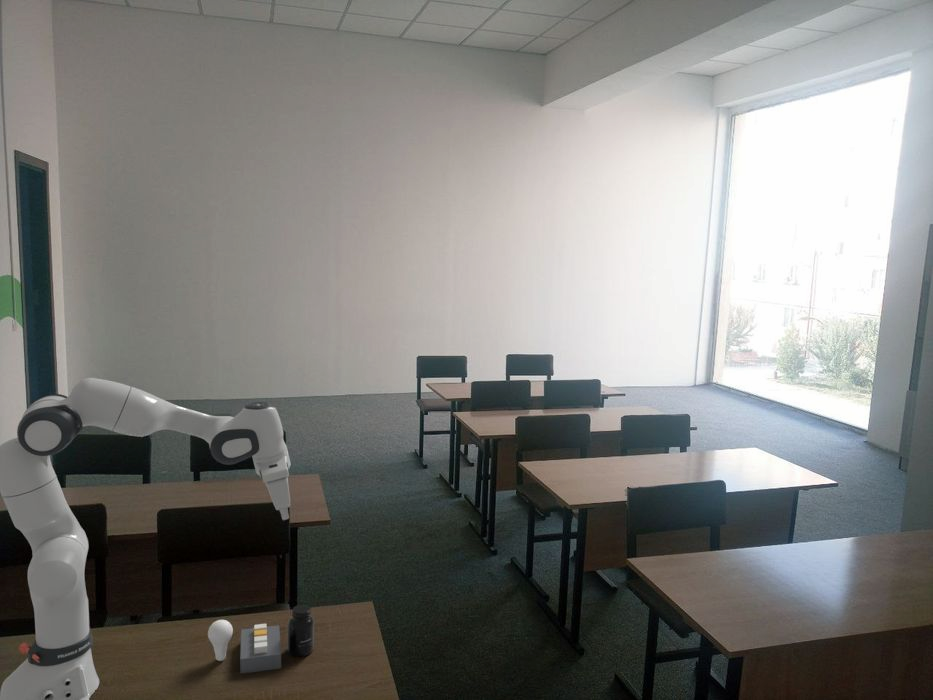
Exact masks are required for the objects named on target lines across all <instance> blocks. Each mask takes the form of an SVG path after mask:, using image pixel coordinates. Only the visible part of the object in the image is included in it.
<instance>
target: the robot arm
mask: <svg viewBox="0 0 933 700" xmlns="http://www.w3.org/2000/svg"><path fill="white" fill-rule="evenodd" d="M87 426H89V427H91V426H92V427H96V428H97V427H98V428H101V429H105V430H108V431H112V432H115V433H118V434H120V435H126V436H130V437H131V436H132V437H141V438H143V437H146V436H149V435H151V434H153V433H155V432H159V431H163V430H165V431H167V430H169V431H174V432H178V433H183V434H186V435H190V436H193V437H197V438H200V439H203V440H204V441H205V442H206V443H207V444H208V445H209V450H210V454H211V456H212V458H213V459H214V460H216V462H218V463H220V464H222V465H227V466H228V465H235V464H237V463H240V462H243V461H245V460H248V459H249V458H251V457H252V461H253V465H254V466H253V467H254V469H255V474H256V475H258V476H259V478H260V479H261V480H262V483H263V484H264V483H265V486H266V488H267V490H268V493H269V495H270V499H271V501H272V504H273V506H274V508H275V510H276V511H279V513H280V516H281V519H282V521H286V520H289V518H290V515H289V514H290V513H289V508H290V507H291V496H290V495H291V493H290V486H289V476H290V468H291V465H292V464H291V459H290V455H289V451H288V447H287V444H286V442H285V441H284V429H283V425H282V421H281V418H280V416H279V412H278V410H277V408H276V407H275V405H273V404H271V403H270V402H263V401H262V402H261V401H260V402H259V401H257V402H252V403H248V404H246V405H244V406H243V408H242V409H241V410H240V411H239V412H238V413H237V414H233V413H216V414H215V413H214V414H213V413H206V412H203V411H201V410H200V411H199V410H196V409H193V408H190V407H189V408H188V407H186V406H181V405H179V404H174V403H172V402H170V401H167V400H165V399H163V398H160V397H158V396H156V395H154V394H152V393H150V392H147V391H145V390H142V389H140V388H137V387H134V386H130V385H127V384H125V383H121V382H117V381H113V380H112V381H111V380H108V379H103V378H97V377H86V378H83V379H82V380H80V381H79V382H78V383H76V385H74V387H73V388H72V389H71V392H70V394H69V395H68V396H67V395H65V394H60V393H50V394H45V395H43V396H40V397H39V398H37V399H36V400H34V401H33V402H32V403H31V405H29V406H28V407H27V409H26V410H25V412H24V413H23V415H22V417H21V420H20V421H19V423H18V425H17V429H16V430H17V431H16V433H17V434H16V435H17V437H15V438H12V439H10V440H7V441H5V442H3V443H2V444H0V495H1V498H2V500H3V502H4V505H5V507H6V509H7V511H8V513H9V516H10V519H11V522H12V523H13V525H14V527H15V529H17V530H19V531H20V532H21V533H22V534H23V535H22V536H24V538H25V539H26V540H27V542H28V544H29V545H30V547H31V551H32V553H31V554H32V558H31V560H30V562H29V565H28V569H27V584H28V589H29V594H30V599H31V602H32V606H33V612H34V613H33V614H34V628H35V639H34V642H33V643H32V645H29V644H28V643H27V642H23V643H21V644H20V646H19V647H18V650H19V652H21V654H23V655H27V658H26V659H25V660H24V661H23V662H22V663H21V664H20V665H19V666H18V667H17V668H16V669H15V670H14V671H12V672H11V674H10V675H9V676H7V677H6V678H5V679H4V681H3V682H2V684H1V688H0V700H90V699H91V696H92V695H93V694H94V693H95V692H96V691H95V690H97V689H98V687H99V685H100V678H99V676H98V674H97V671H96V668H95V665H94V661H93V659H94V658H93V655H92V650H93V634H92V628H91V627H90V611H89V598H88V595H87V589H86V581H85V580H86V579H85V569H86V562H87V556H88V552H89V539H88V537H87V534H86V532H85V530H84V529H83V527H82V526H81V525H80V522H79V521H78V519H77V518H76V516H75V515H74V513H73V511H72V509H71V508H70V506H69V504H68V502H67V500H66V498H65V495H64V494H65V493H64V491H63V489H62V487H61V484H60V482H59V480H58V476H57V474H56V472H55V470H54V467H53V464H52V461H51V456H53V455H56V454H58V453H60V452H62V451H63V450H64V449H66V448H67V447H68V446H69V445H70V444H71V443H72V442H73V440H74V439H75V438H76V437H77V436H78V435H79V433H80V432H81V431H82V430H83V427H87ZM89 698H90V699H89Z"/></svg>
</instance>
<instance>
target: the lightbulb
mask: <svg viewBox="0 0 933 700" xmlns="http://www.w3.org/2000/svg"><path fill="white" fill-rule="evenodd" d="M233 633H234V630H233V625H232V624H231V622H230V621H228V620H226V619H218V620H216V621H214V622H212V624H210V626H209V628H208V631H207V637H208V640H209V641H210V642H211V645H212V646H213V652H214V653H215V655H214V656H215V660H216V661H219V662H222V661H224V660H225V659H226V656H227V650H228V644H229V642H230V640H231V638H232V636H233Z"/></svg>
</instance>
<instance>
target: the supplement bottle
mask: <svg viewBox="0 0 933 700" xmlns="http://www.w3.org/2000/svg"><path fill="white" fill-rule="evenodd" d="M291 612H292V613H291V616H290V618H289V620H288V622H287V652H288V654H289V655H290V656H292V657H296V658H302V657H307V656H308V655H310V654H311V653H312V652H313V650H314V639H315V638H314V635H315V633H314V632H315V620H314V617H313V616H312V615H311V607H310V606H308V605H307V604H300V605H299V604H298V605H295V606H294V607H293V608H292V609H291Z"/></svg>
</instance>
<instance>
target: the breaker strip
mask: <svg viewBox="0 0 933 700" xmlns="http://www.w3.org/2000/svg"><path fill="white" fill-rule="evenodd" d="M281 648H282V647H281V632H280V625H270V626H267V623H261V622H259V623H258V624H254V627H252V628H243V629H241V630H240V657H239V658H240V659H239V661H240V663H239V664H240V665H239V668H240V670H239V671H240V672H239V673H240V674H247V673H249V674H250V673H256V672H263V671H270V670H278V669H279V670H280V669H282V649H281Z"/></svg>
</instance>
